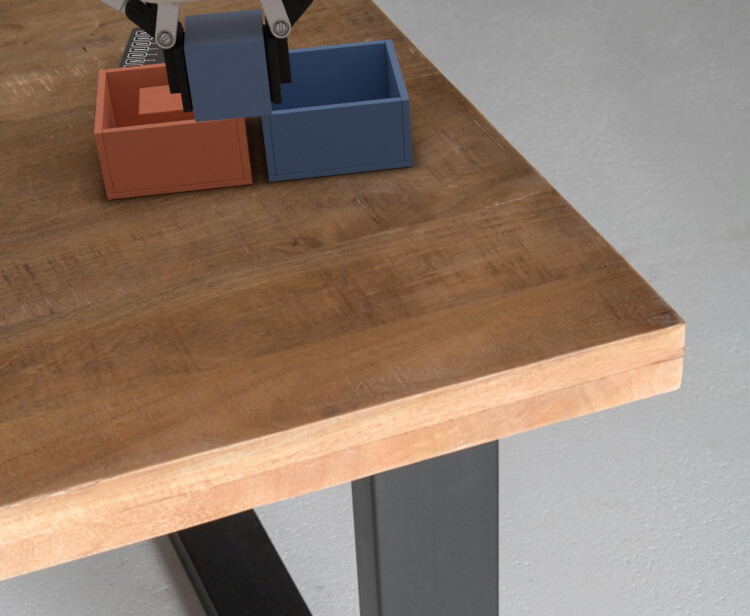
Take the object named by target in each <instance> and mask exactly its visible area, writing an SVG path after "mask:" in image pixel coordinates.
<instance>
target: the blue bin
mask: <svg viewBox="0 0 750 616" xmlns="http://www.w3.org/2000/svg"><path fill="white" fill-rule="evenodd" d="M396 52H397V51H396V49H395V45H394V41H393V40H392V38H389V39H380V40H379V39H378V40H368V41H359V42H351V43H349V42H348V43H341V44H332V45H321V46H312V47H303V48H293V49H289V59H290V69H291V79H292V83H286V84H281V94H282V104H274V102H271V109H272V115H268V116H260V118H261V126H262V136H263V143H264V150H265V158H266V159H265V160H266V167H267V176H268V182H269V183H275V182H283V181H292V180H293V181H294V180H301V179H310V178H320V177H328V176H329V177H330V176H337V175H348V174H356V173H357V174H358V173H366V172H374V171H383V170H393V169H402V168H410V167H413V165H414V164H413V147H412V126H411V125H412V122H411V101H410V100H411V99H410V97H409V94H408V90H407V86H406V84H405V79H404V76H403V72H402V70H401V66H400V62H399V60H398V57H397V56H398V55H397V53H396Z"/></svg>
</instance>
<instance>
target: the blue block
mask: <svg viewBox="0 0 750 616" xmlns="http://www.w3.org/2000/svg"><path fill="white" fill-rule="evenodd" d="M263 24H264V19H263V9H262V8H257V9H247V10H236V11H235V10H234V11H224V12H213V13H212V12H211V13H202V14H191V15H185V16H184V32H185V33H184V52H185V58H186V65H187V71H188V78H189V84H190V91H191V97H192V104H193V110H194V117H195V122H203V121H214V120H224V119H235V118H246V119H247V118H256V117H261V116H268V115H272V109H271V100H270V91H269V82H268V74H267V65H266V56H265V47H264V34H263Z"/></svg>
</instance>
